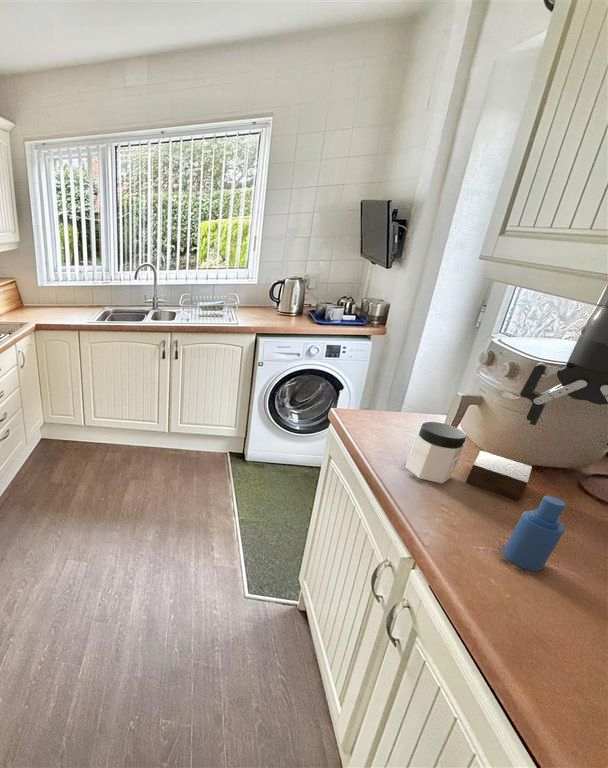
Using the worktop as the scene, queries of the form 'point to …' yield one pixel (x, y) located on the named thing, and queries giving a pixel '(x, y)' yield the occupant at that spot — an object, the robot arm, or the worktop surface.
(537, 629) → the worktop surface
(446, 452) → the jar
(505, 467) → the block
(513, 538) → the bottle
